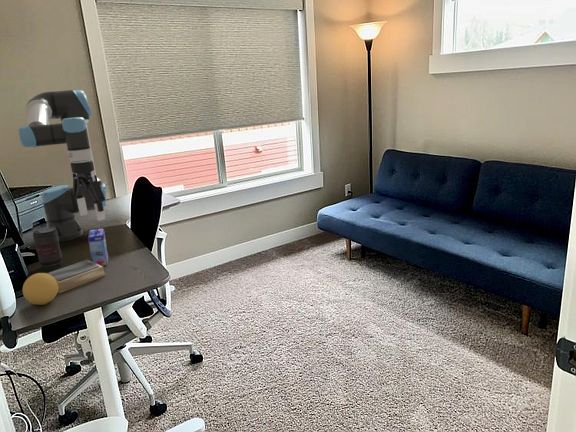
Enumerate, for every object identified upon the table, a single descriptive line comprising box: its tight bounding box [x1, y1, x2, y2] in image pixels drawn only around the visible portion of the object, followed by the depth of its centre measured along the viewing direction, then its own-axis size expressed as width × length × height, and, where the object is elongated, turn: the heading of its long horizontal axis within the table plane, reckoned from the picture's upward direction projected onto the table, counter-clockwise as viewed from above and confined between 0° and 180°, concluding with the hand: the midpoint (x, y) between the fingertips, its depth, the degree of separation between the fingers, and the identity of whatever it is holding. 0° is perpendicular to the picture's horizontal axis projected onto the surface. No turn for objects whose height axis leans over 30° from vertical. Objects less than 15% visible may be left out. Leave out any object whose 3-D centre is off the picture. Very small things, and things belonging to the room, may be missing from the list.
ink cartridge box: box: [87, 225, 109, 267], centre depth 169 cm, size 10×6×14 cm, turn 20°
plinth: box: [47, 259, 106, 294], centre depth 155 cm, size 12×16×4 cm
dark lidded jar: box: [32, 226, 63, 270], centre depth 168 cm, size 8×8×15 cm
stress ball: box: [22, 272, 59, 306], centre depth 139 cm, size 10×10×10 cm
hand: (92, 217), depth 165 cm, fingers open, 13 cm apart
